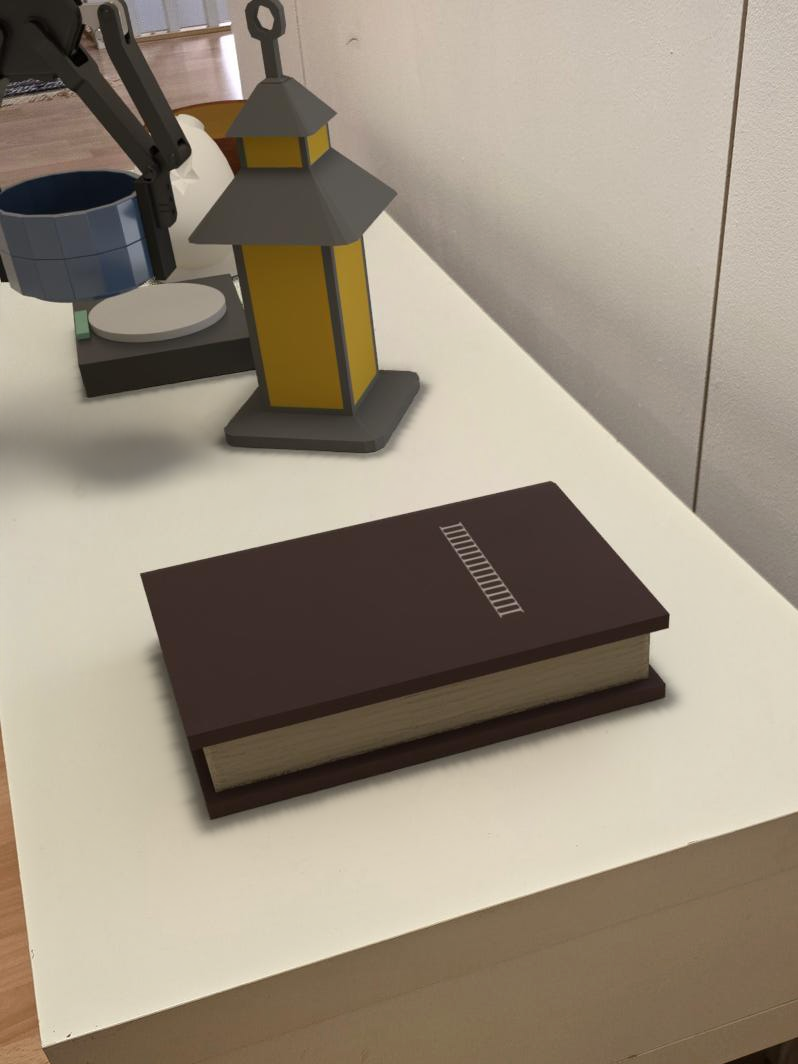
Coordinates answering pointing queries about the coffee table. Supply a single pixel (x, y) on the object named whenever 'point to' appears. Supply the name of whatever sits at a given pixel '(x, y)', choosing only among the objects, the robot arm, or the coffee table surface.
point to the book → (399, 643)
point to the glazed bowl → (74, 235)
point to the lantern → (303, 271)
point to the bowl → (217, 125)
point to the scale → (162, 335)
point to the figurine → (198, 205)
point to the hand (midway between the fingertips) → (89, 275)
